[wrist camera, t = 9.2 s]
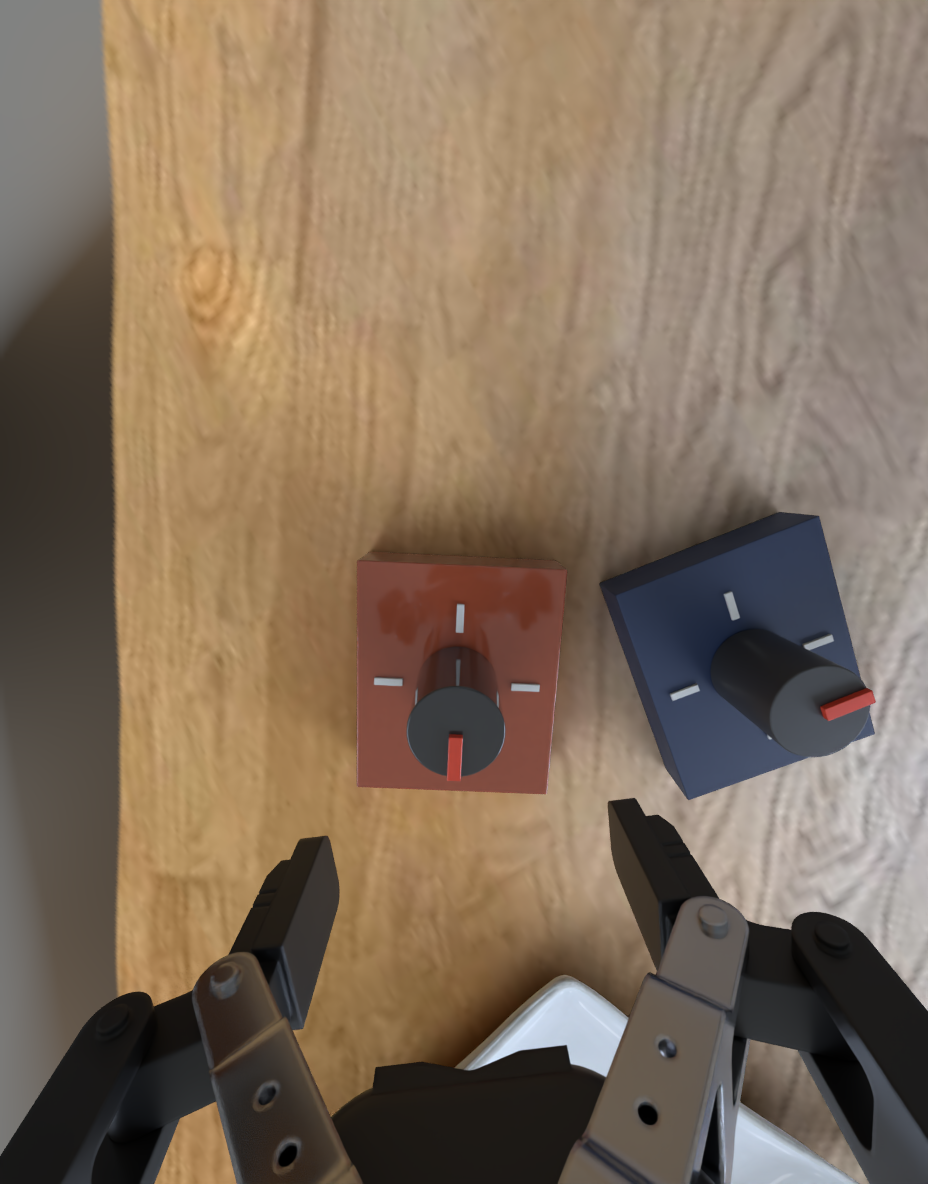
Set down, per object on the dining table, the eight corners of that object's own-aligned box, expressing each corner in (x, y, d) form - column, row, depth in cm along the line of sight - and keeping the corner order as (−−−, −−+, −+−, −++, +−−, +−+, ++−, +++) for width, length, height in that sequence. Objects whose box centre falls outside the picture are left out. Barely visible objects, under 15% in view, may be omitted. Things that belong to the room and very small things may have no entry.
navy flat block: (598, 583, 27) (616, 596, 24) (779, 511, 26) (821, 515, 23) (665, 769, 30) (689, 802, 26) (833, 708, 29) (878, 735, 26)
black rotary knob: (724, 716, 26) (791, 776, 20) (698, 648, 25) (761, 692, 20) (800, 686, 25) (888, 739, 20) (777, 615, 24) (862, 651, 19)
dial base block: (368, 551, 27) (355, 560, 24) (556, 560, 27) (568, 570, 24) (366, 756, 29) (355, 789, 26) (538, 763, 29) (547, 796, 26)
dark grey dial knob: (417, 644, 25) (406, 687, 20) (499, 647, 25) (509, 691, 20) (415, 719, 26) (404, 780, 20) (494, 723, 26) (503, 784, 20)
